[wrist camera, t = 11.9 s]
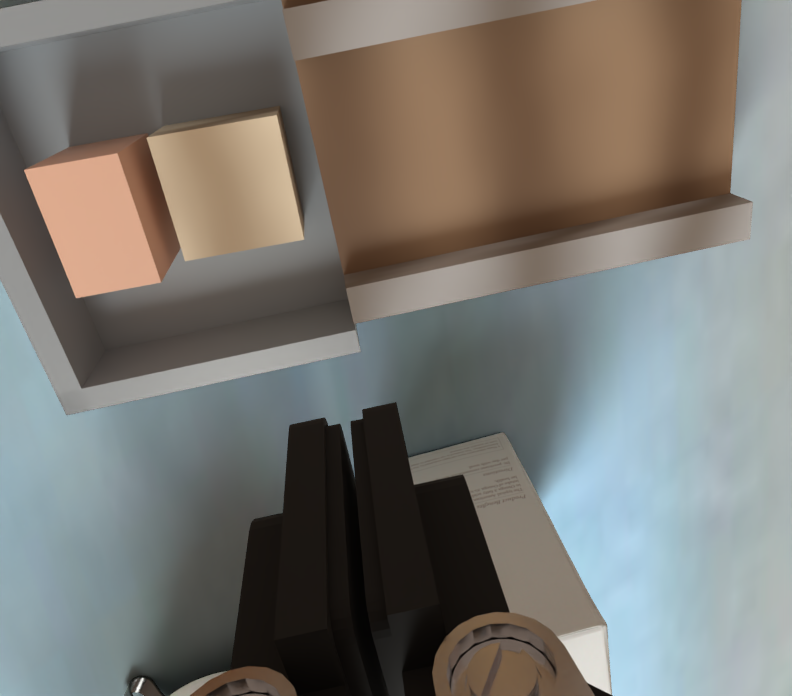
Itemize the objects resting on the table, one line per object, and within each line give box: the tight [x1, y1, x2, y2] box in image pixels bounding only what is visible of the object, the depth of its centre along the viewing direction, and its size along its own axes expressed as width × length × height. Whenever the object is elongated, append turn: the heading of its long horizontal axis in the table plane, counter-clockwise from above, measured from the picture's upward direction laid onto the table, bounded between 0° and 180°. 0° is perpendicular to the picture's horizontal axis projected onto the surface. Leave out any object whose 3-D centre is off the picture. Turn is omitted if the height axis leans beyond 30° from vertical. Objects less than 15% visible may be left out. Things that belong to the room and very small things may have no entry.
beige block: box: [147, 106, 304, 261], centre depth 25 cm, size 4×4×3 cm
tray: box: [0, 0, 361, 415], centre depth 25 cm, size 12×14×4 cm
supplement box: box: [408, 432, 612, 695], centre depth 30 cm, size 7×7×13 cm
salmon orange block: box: [24, 133, 181, 298], centre depth 24 cm, size 4×4×3 cm
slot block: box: [281, 0, 753, 324], centre depth 25 cm, size 16×12×4 cm
